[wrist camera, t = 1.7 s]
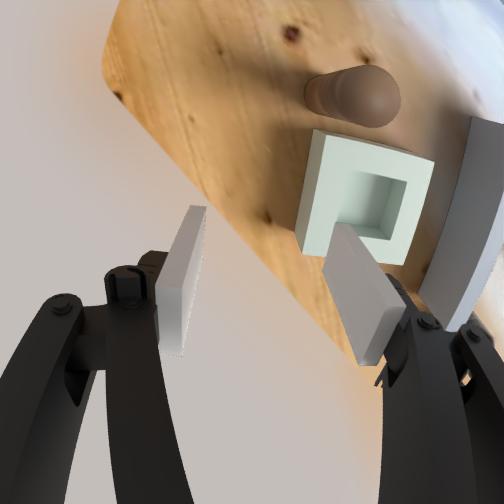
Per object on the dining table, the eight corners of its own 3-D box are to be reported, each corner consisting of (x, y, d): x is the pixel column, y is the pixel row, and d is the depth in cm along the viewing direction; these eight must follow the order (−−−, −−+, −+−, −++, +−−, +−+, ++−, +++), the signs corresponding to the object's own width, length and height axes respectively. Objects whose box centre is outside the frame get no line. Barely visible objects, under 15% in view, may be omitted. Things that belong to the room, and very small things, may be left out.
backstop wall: (472, 116, 27) (518, 128, 20) (488, 124, 27) (533, 138, 20) (417, 293, 38) (444, 332, 31) (433, 294, 38) (461, 331, 31)
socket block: (313, 128, 28) (326, 134, 24) (410, 151, 29) (434, 162, 25) (294, 232, 33) (301, 254, 29) (385, 243, 34) (402, 265, 30)
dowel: (306, 71, 26) (345, 57, 15) (346, 80, 26) (404, 75, 15) (300, 111, 27) (335, 119, 17) (340, 119, 28) (394, 134, 17)
